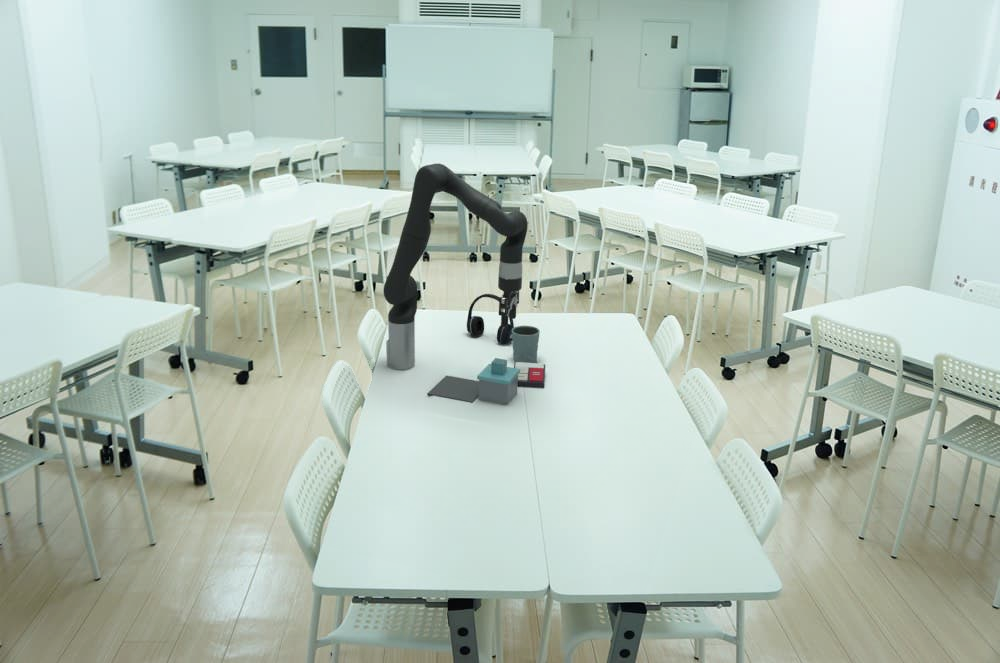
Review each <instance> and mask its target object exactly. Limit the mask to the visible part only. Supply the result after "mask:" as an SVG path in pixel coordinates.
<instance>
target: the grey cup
mask: <svg viewBox="0 0 1000 663" xmlns="http://www.w3.org/2000/svg"><path fill="white" fill-rule="evenodd" d="M540 333H541V331H540V329H539V328H538V327H537V326H533V325H517V326H514V328H513V329H512V342H511V343H512V359H513V362H514V363H515V362H524V363H537V361H538V360H537V359H538V348H539V339H540Z"/></svg>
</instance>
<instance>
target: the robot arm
mask: <svg viewBox="0 0 1000 663" xmlns="http://www.w3.org/2000/svg"><path fill="white" fill-rule="evenodd" d="M412 188H413V189H412V194H411V199H410V204H409V207H408V210H407V215H406V218H405V220H404V221H405V222H404V224H403V227H402V230H401V231H402V232H401V235H400V237H399V242H398V245H397V249H396V252H395V256H394V259H393V262H392V265H391V269H390V271H389V273H388V275H387V278H386V280H385V283H384V285H383V296H384V299H385V300H386V301H387V303H388V304H389V305H392V306H391V309H390V310H389V311H388V313H387V314H388V315H387V319H388V320H387V321H388V322H387V324H388V325H387V326H388V327H387V328H388V339H387V340H386V367H390V368H391V369H393V370H398V371H399V370H401V371H405V370H409V369H413V368H414V367H415V366H416V363H415V362H416V359H415V358H416V335H415V334H416V333H415V323H416V322H415V319H416V318H415V317H416V314H417V312H418V311H417V309H418V292H419V291H418V284H417V281H416V280H415V278H414V277H413V276H412V275H411V274H412V271H413V270H414V269H415V267H416V265H417V263H418V262H419V261H420V260H421V258H422V256H423V255H424V253H425V251H426V249H427V246H428V244H429V240H430V236H431V232H432V225H431V224H432V223H431V218H430V209H431V206H432V202H433V199H434V197H435V195H436V194H437V193H442V192H444V193H446V194H448V195H452V196H453V197H455V198H457V200H459V201H460V202H461V203H462V205H463V206H464V208H466V209H467V210H468V212H470V213H471V214H473V215H474V216H476V217H478V218H480V219H481V220H482V221H484V222H486V223H487V224H489V226H490V227H491V228H493V230H494V231H495V232H496V233H497V234H499V235H501V236H502V237H503V236H504V237H506V238H505V240H504V241H503V242H502V243H501V245H500V248H499V263H498V264H499V265H498V276H497V277H498V282H497V284H498V285H497V287H498V289H499V290H500V291H502V295H501V296H499V297H500V298H499V301H498V316H500V317H501V318H500V325H501V326H502V327H507V326H508V324H509V318H512V319H513V320H514V319H516V318H517V307H518V305H519V303H520V291H521V290H522V286H523V248H524V244H525V241H526V236H527V232H528V218H527V217H526V215H525V214H524V213H523V212H522V211H519V210H515V211H512V212H508V213H507V212H504V211H503V210H502V209H503V207H502V206H501V204H500V202H497V201H496V200H494V199H492V198H491V197H489V196H487V195H485V194H484V193H482V192H480V191H479V190H477V189H476V188H474V187H472V186H471V185H470V184H469V183H467V182H466V181H465V180H463V179H462V178H461V177H460V176H459V175H457V174H456V173H455V172H454V171H453V170H451V169H450V167H447V166H446V165H445V164H442V163H432V164H426V165H423V166H421V167H419V169H418V170H417V172H416V174H415V177H414V182H413V187H412ZM508 315H509V316H508Z"/></svg>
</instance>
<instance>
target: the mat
mask: <svg viewBox="0 0 1000 663" xmlns="http://www.w3.org/2000/svg"><path fill="white" fill-rule="evenodd" d="M426 395H428V396H427V397H430V396H432V397H433V396H434V397H438V398H445V399H451V400H454V401H460V402H465V403H466V402H467V403H470V404H471V403H474V402H475V401H476V400H477V399H478V398H479V380H474V379H469V378H464V377H458V376H452V375H445V376H444V377H443V378H442V379H441V380H440V381H439V382H438V383H437V384H435V386H434V387H432V388H431V389H429V391H428V392H427V394H426Z"/></svg>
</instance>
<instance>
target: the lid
mask: <svg viewBox="0 0 1000 663" xmlns="http://www.w3.org/2000/svg"><path fill="white" fill-rule="evenodd" d="M519 373H520V369H517V368H514V367H512V366H508V360H507V359H503V358H497V357H495V358H494V359H493V360H492V361H491V363H488V364H487V365H486V366H485V367H484V368H483V369H482V370H481V371H480V372H479V373H478V374H477V376H476V380H478V381H479V380H484V381H490V382H496V383H501V384H507V385H509V384H510V383H511V382H512V381H513V380H514V379H515V378H516V376H517V375H518V374H519Z"/></svg>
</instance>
